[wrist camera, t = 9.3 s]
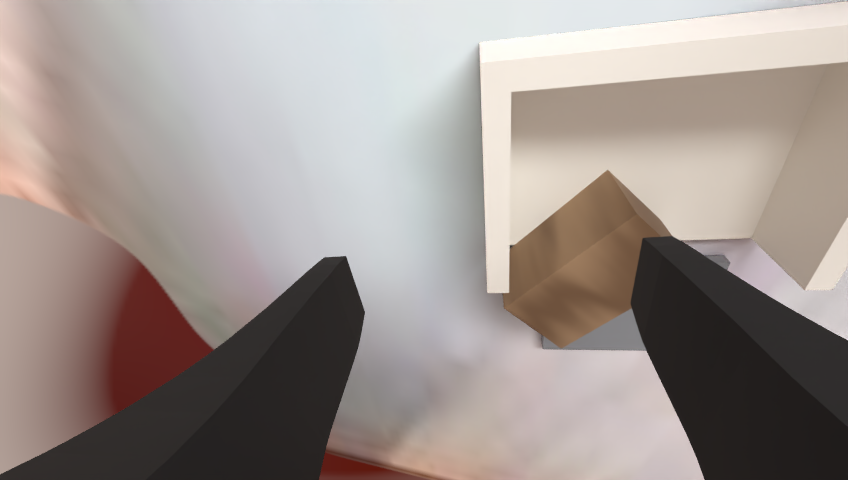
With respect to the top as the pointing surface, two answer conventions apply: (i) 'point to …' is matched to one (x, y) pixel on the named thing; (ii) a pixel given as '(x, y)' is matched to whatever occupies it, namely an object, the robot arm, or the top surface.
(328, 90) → the top surface
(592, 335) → the mat
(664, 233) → the walnut block
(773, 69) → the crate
